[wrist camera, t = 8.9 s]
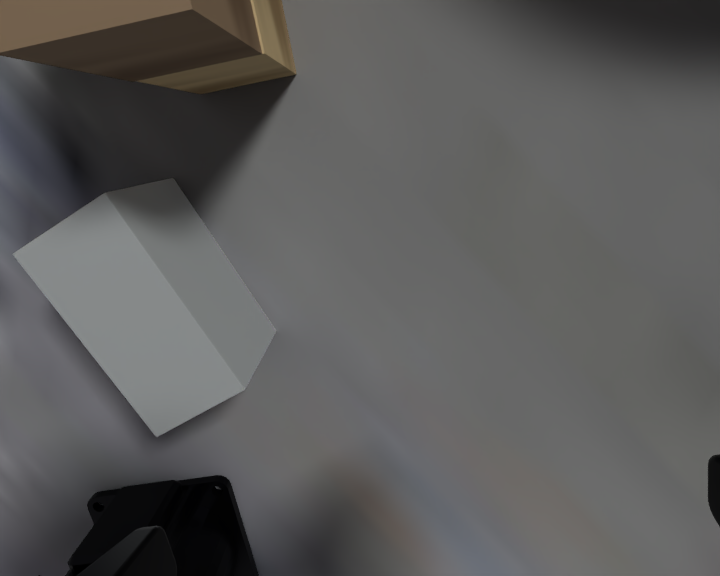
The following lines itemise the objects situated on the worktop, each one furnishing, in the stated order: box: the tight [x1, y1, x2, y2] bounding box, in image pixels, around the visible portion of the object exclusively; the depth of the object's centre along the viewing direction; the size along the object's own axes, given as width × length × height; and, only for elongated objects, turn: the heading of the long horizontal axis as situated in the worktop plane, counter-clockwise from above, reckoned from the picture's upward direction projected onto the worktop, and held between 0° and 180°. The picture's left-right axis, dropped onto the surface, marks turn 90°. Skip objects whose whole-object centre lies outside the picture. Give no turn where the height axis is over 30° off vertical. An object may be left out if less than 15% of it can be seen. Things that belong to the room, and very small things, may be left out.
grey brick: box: [13, 178, 276, 437], centre depth 18 cm, size 7×4×5 cm, turn 31°
